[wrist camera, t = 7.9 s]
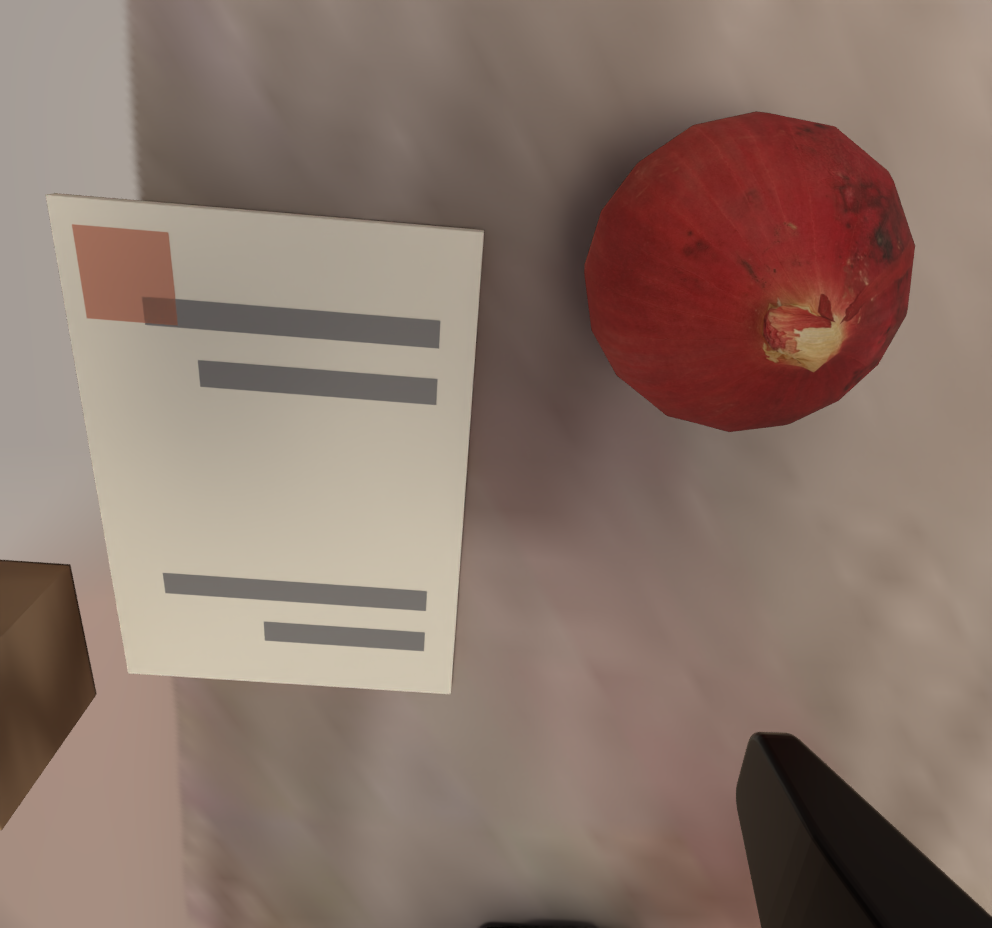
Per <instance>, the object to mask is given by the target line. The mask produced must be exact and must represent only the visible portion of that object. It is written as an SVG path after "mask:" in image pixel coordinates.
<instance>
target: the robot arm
mask: <svg viewBox="0 0 992 928" xmlns="http://www.w3.org/2000/svg"><path fill="white" fill-rule="evenodd" d="M736 804H737V811H738V816H739V821H740V826H741V830H742V835H743V840H744V845H745V850H746V855H747V860H748V865H749V869H750V874H751V879H752V884H753V889H754V894H755V899H756V904H757V908H758V913H759V918H760V923H761V928H992V916H991V915H990V914H988V913H987V912H986V911H985V910H984V909H983V908H982V907H981V906H980V905H979V904H978V903H976V902H975V901H974V900H973V899H972V898H971V897H970V896H969V895H968V894H967V893H966V892H965V891H963V890H962V889H961V888H960V887H959V886H958V885H957V884H956V883H955V882H954V881H953V880H951V879H950V878H949V877H948V876H947V875H946V874H945V873H944V872H943V871H942V870H941V869H940V868H938V867H937V866H936V865H935V864H934V863H933V862H932V861H931V860H930V859H929V858H928V857H926V856H925V855H924V854H923V853H922V852H921V851H920V850H919V849H918V848H917V847H916V846H915V845H913V844H912V843H911V842H910V841H909V840H908V839H907V838H906V837H905V836H904V835H903V834H901V833H900V832H899V831H898V830H897V829H896V828H895V827H894V826H893V825H892V824H891V823H890V822H888V821H887V820H886V819H885V818H884V817H883V816H882V815H881V814H880V813H879V812H878V811H877V810H875V809H874V808H873V807H872V806H871V805H870V804H869V803H868V802H867V801H866V800H865V799H863V798H862V797H861V796H860V795H859V794H858V793H857V792H856V791H855V790H854V789H853V788H852V787H850V786H849V785H848V784H847V783H846V782H845V781H844V780H843V779H842V778H841V777H840V776H838V775H837V774H836V773H835V772H834V771H833V770H832V769H831V768H830V767H829V766H828V765H827V764H825V763H824V762H823V761H822V760H821V759H820V758H819V757H818V756H817V755H816V754H815V753H813V752H812V751H811V750H810V749H809V748H808V747H807V746H806V745H805V744H804V743H803V742H802V741H800V740H799V739H798V738H797V737H795V736H794V735H792V734H789V733H773V732H757V733H754V734H753V735H752V736H751V737H750V739H749V742H748V745H747V749H746V752H745V756H744V760H743V763H742V767H741V771H740V775H739V778H738V782H737V787H736ZM487 928H503V927H487Z"/></svg>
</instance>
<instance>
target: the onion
mask: <svg viewBox="0 0 992 928" xmlns="http://www.w3.org/2000/svg"><path fill="white" fill-rule="evenodd" d="M914 250H915V244H914V241H913V238H912V235H911V232H910V229H909V226H908V223H907V220H906V217H905V214H904V211H903V208H902V205H901V202H900V199H899V196H898V193H897V190H896V187H895V184H894V181H893V179H892V177H891V175H890V174H889V172H888V171H887V170H886V169H885V168H884V167H883V166H881V165H880V164H879V163H878V162H877V161H876V160H874V159H873V158H872V157H871V156H870V155H868V154H867V153H866V152H865V151H864V150H862V149H861V148H860V147H859V146H858V145H856V144H855V143H854V142H853V141H852V140H851V139H849V138H848V137H847V136H846V135H845V134H843V133H842V132H841V131H840V130H839V129H837V128H836V127H835V126H830V125H825V124H820V123H815V122H810V121H805V120H800V119H795V118H790V117H785V116H780V115H776V114H771V113H764V112H752V113H747V114H743V115H738V116H733V117H729V118H724V119H719V120H715V121H710V122H705V123H701V124H696V125H693V126H691V127H690V128H688V129H687V130H685V131H684V132H682V133H681V134H679V135H678V136H677V137H675V138H674V139H672V140H671V141H669V142H668V143H666V144H665V145H663V146H662V147H660V148H659V149H657V150H656V151H654V152H653V153H651V154H650V155H648V156H647V157H646V158H644V159H643V160H641V161H640V162H639V163H637V164H636V166H635V167H634V168H633V170H632V171H631V172H630V174H629V175H628V176H627V178H626V179H625V180H624V182H623V183H622V184H621V185H620V187H619V188H618V189H617V191H616V192H615V193H614V195H613V196H612V197H611V199H610V200H609V201H608V203H607V204H606V205H605V207H604V208H603V209H602V211H601V214H600V217H599V220H598V223H597V227H596V230H595V233H594V236H593V239H592V243H591V246H590V249H589V252H588V255H587V259H586V262H585V270H584V274H585V282H586V290H587V298H588V306H589V314H590V322H591V329H592V332H593V334H594V335H595V337H596V339H597V341H598V343H599V344H600V346H601V348H602V350H603V352H604V353H605V355H606V357H607V359H608V361H609V362H610V364H611V366H612V368H613V370H614V372H615V373H616V375H617V376H618V377H619V378H621V379H622V380H623V381H625V382H626V383H627V384H628V385H630V386H631V387H632V388H633V389H635V390H636V391H637V392H638V393H639V394H641V395H642V396H643V397H644V398H646V399H647V400H648V401H649V402H651V403H652V404H653V405H654V406H655V407H657V408H658V409H659V410H660V411H662V412H663V413H664V414H665V415H667V416H670V417H674V418H678V419H682V420H686V421H690V422H694V423H698V424H701V425H705V426H709V427H713V428H716V429H720V430H724V431H728V432H733V431H741V430H749V429H758V428H766V427H774V426H783V425H787V424H790V423H792V422H795V421H797V420H799V419H801V418H803V417H805V416H807V415H809V414H811V413H814V412H816V411H818V410H820V409H822V408H824V407H826V406H828V405H830V404H832V403H835V402H837V401H839V400H840V399H841V398H842V397H843V396H844V395H845V394H846V393H847V392H849V391H850V390H851V389H852V388H853V387H854V386H855V385H856V384H857V383H858V382H859V381H861V380H862V379H863V378H864V377H865V376H866V375H867V374H868V373H869V372H870V371H872V370H873V369H874V368H875V367H876V366H877V365H878V364H879V362H880V360H881V359H882V357H883V355H884V353H885V352H886V350H887V348H888V346H889V345H890V343H891V341H892V339H893V338H894V336H895V334H896V332H897V331H898V329H899V327H900V325H901V324H902V322H903V320H904V318H905V317H906V314H907V310H908V301H909V293H910V284H911V276H912V267H913V258H914Z"/></svg>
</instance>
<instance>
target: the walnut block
mask: <svg viewBox="0 0 992 928" xmlns="http://www.w3.org/2000/svg"><path fill="white" fill-rule="evenodd" d="M96 694H97V693H96V688H95V683H94V678H93V673H92V668H91V663H90V658H89V653H88V648H87V643H86V639H85V634H84V629H83V624H82V619H81V614H80V609H79V604H78V600H77V594H76V589H75V584H74V580H73V574H72V570H71V565H70V564H59V563H43V562H29V561H14V560H0V830H2V829H3V828H4V826H5V825H6V823H7V822H8V821H9V819H10V818H11V816H12V815H13V813H14V812H15V811H16V809H17V808H18V806H19V805H20V803H21V802H22V800H23V799H24V798H25V796H26V795H27V793H28V792H29V790H30V789H31V788H32V786H33V785H34V783H35V782H36V780H37V779H38V778H39V776H40V775H41V773H42V772H43V770H44V769H45V768H46V766H47V765H48V763H49V762H50V760H51V759H52V758H53V756H54V755H55V753H56V752H57V750H58V749H59V747H60V746H61V745H62V743H63V741H64V740H65V739H66V737H67V736H68V735H69V733H70V732H71V730H72V729H73V727H74V726H75V725H76V723H77V722H78V720H79V719H80V717H81V716H82V714H83V713H84V712H85V710H86V709H87V707H88V706H89V704H90V703H91V702H92V700H93V698H94V697H95V696H96Z"/></svg>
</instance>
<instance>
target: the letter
mask: <svg viewBox="0 0 992 928" xmlns="http://www.w3.org/2000/svg"><path fill="white" fill-rule="evenodd" d="M46 201H47V207H48V212H49V218H50V224H51V230H52V235H53V241H54V247H55V252H56V259H57V264H58V270H59V276H60V282H61V288H62V293H63V299H64V305H65V311H66V317H67V322H68V328H69V334H70V340H71V346H72V351H73V357H74V363H75V369H76V375H77V380H78V386H79V392H80V398H81V403H82V409H83V415H84V421H85V427H86V432H87V438H88V444H89V450H90V455H91V461H92V466H93V473H94V479H95V484H96V490H97V496H98V501H99V507H100V513H101V519H102V525H103V531H104V536H105V542H106V548H107V554H108V559H109V565H110V571H111V577H112V582H113V588H114V594H115V600H116V606H117V612H118V617H119V623H120V629H121V635H122V641H123V646H124V652H125V657H126V664H127V670H128V673H132V674H147V675H162V676H178V677H193V678H208V679H224V680H239V681H254V682H269V683H285V684H300V685H315V686H331V687H346V688H361V689H377V690H392V691H407V692H423V693H438V694H451V683H452V669H453V655H454V641H455V627H456V613H457V599H458V586H459V572H460V558H461V544H462V530H463V516H464V502H465V488H466V475H467V461H468V447H469V433H470V419H471V405H472V391H473V377H474V363H475V350H476V336H477V322H478V308H479V294H480V280H481V266H482V252H483V239H484V230H477V229H466V228H454V227H442V226H431V225H419V224H407V223H396V222H384V221H372V220H361V219H349V218H337V217H326V216H314V215H302V214H291V213H279V212H267V211H256V210H244V209H232V208H221V207H209V206H197V205H186V204H174V203H162V202H151V201H139V200H127V199H116V198H104V197H92V196H81V195H69V194H57V193H54V194H48V195H46Z"/></svg>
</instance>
